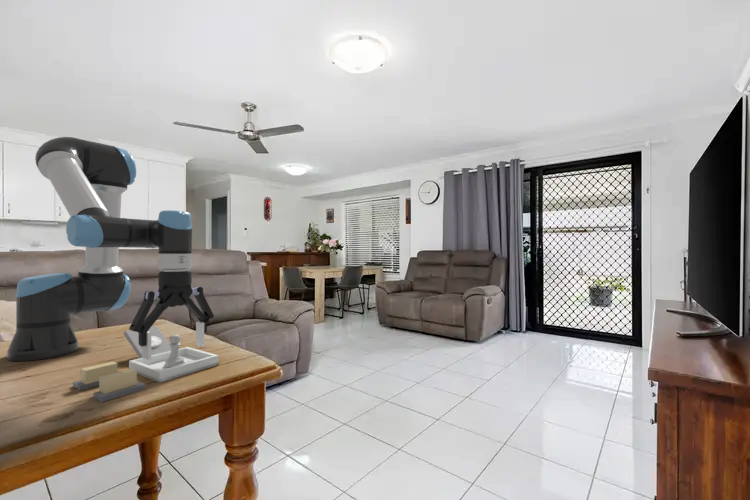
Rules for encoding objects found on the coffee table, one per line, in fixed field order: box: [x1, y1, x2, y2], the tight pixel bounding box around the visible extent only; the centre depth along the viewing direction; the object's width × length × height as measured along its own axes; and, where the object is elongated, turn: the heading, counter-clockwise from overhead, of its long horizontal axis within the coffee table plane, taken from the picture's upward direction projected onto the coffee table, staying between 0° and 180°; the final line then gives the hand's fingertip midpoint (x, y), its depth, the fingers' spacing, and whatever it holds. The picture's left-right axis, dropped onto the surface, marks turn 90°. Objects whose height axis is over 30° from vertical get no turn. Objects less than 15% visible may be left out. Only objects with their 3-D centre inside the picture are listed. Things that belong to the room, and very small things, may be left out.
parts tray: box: [128, 346, 220, 384], centre depth 90 cm, size 15×15×2 cm
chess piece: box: [164, 333, 185, 368], centre depth 90 cm, size 5×5×8 cm
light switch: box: [123, 325, 171, 358], centre depth 99 cm, size 8×6×14 cm
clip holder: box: [72, 361, 146, 403], centre depth 77 cm, size 15×8×4 cm, turn 58°
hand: (175, 351), depth 90 cm, fingers open, 13 cm apart
